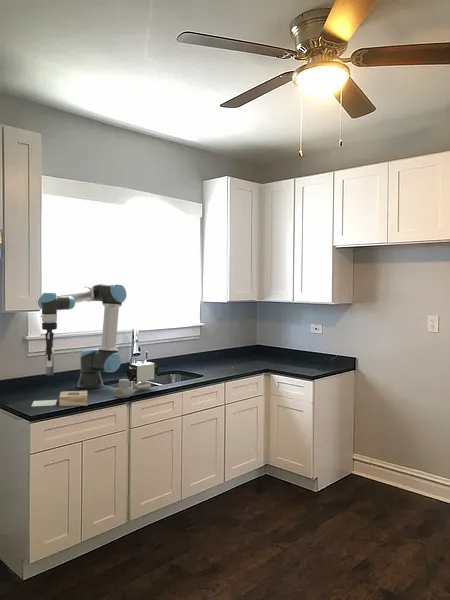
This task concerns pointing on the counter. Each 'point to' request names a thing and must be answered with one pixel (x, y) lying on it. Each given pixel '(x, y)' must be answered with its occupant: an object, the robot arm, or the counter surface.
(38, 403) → the mat
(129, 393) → the air freshener
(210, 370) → the counter surface
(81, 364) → the robot arm
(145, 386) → the white boxy device
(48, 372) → the pin
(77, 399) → the block
